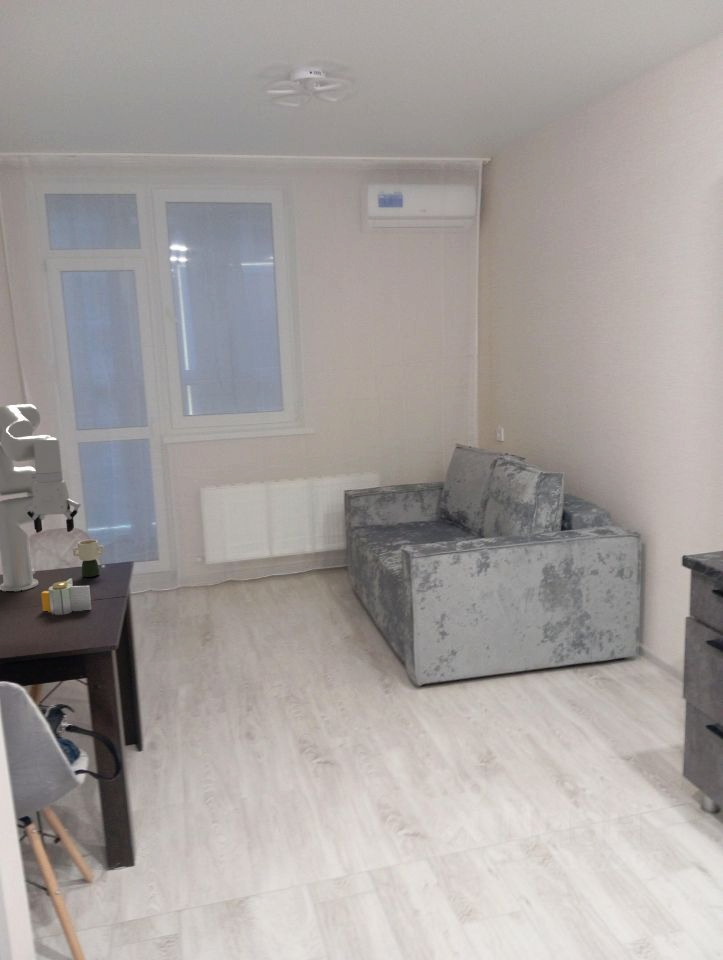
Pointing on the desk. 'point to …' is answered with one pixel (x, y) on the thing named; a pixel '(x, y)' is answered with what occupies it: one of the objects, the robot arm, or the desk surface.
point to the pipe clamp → (46, 601)
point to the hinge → (69, 599)
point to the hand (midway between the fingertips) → (54, 531)
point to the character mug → (89, 556)
